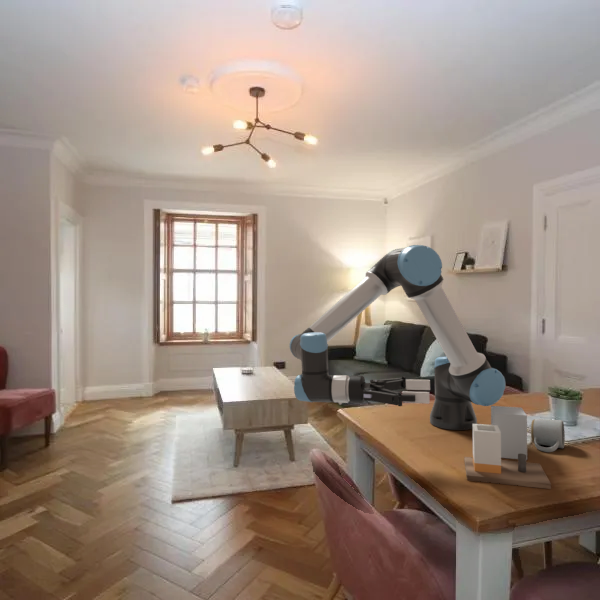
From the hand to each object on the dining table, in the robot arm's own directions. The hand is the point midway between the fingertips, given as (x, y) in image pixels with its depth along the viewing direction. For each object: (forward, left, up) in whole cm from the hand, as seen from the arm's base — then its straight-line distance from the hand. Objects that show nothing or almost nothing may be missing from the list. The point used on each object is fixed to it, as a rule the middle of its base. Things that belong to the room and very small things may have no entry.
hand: (429, 391), depth 115 cm
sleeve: (+1, +14, -18) cm, 23 cm away
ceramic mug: (-22, +32, -20) cm, 44 cm away
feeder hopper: (-14, +21, -20) cm, 32 cm away
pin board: (+1, +18, -20) cm, 26 cm away
